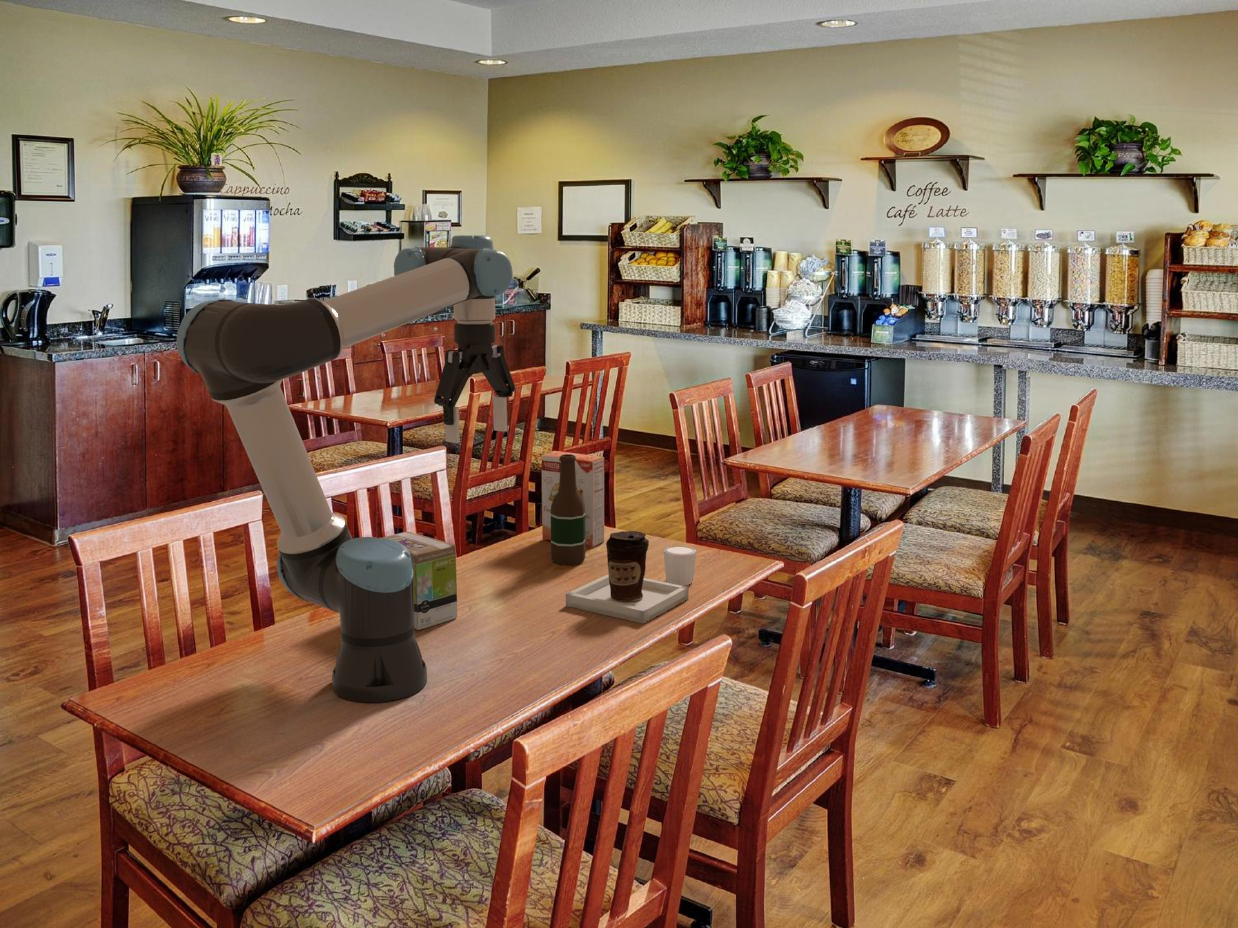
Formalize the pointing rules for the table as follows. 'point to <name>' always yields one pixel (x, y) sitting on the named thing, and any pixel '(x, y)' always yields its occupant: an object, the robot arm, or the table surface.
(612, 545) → the coffee cup
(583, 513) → the beer bottle
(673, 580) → the shot glass
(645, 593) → the tray
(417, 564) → the tea box
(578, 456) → the cracker box
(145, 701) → the table surface
